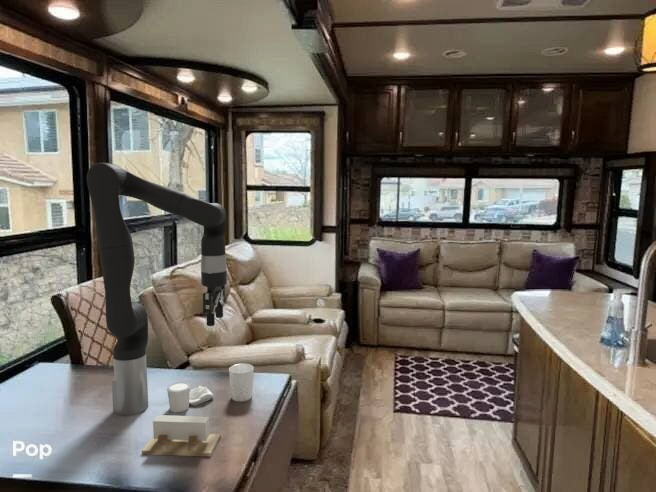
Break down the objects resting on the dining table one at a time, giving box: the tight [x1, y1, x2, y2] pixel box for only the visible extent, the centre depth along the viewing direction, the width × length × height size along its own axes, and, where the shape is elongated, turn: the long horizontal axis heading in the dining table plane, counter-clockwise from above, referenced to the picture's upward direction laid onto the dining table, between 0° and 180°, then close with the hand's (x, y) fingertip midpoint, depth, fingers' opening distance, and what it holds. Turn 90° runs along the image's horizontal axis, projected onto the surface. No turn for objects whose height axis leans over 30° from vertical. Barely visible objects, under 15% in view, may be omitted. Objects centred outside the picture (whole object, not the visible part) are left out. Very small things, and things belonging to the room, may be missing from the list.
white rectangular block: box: [152, 414, 211, 441], centre depth 120 cm, size 14×3×5 cm, turn 87°
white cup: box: [228, 363, 255, 403], centre depth 149 cm, size 8×8×10 cm
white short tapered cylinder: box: [166, 381, 191, 413], centre depth 141 cm, size 7×7×7 cm
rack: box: [141, 433, 222, 457], centre depth 121 cm, size 18×9×4 cm, turn 87°
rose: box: [189, 385, 214, 406], centre depth 147 cm, size 10×4×10 cm
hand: (215, 321), depth 139 cm, fingers open, 8 cm apart
